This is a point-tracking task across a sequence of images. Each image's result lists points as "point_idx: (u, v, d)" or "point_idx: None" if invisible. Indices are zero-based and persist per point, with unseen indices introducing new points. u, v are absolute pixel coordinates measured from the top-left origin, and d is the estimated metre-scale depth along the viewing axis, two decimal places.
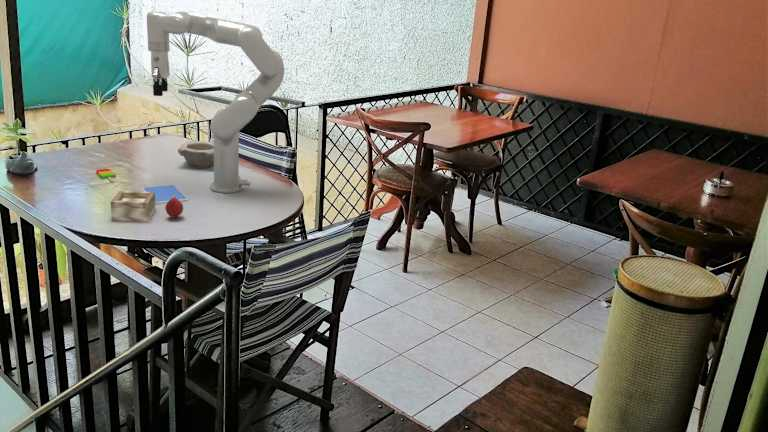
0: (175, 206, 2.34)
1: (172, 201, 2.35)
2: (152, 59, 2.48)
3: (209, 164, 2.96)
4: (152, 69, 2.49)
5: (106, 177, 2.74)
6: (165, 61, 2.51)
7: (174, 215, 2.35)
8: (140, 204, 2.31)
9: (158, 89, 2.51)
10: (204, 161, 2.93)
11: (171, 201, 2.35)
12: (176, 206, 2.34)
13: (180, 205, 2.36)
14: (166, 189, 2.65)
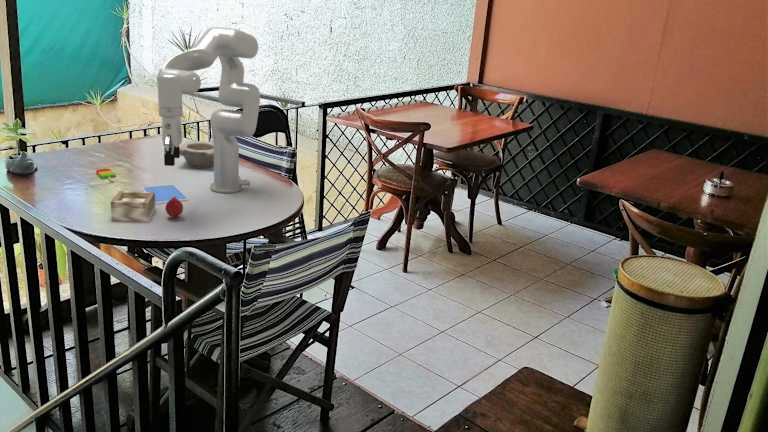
0: (175, 206, 2.34)
1: (172, 201, 2.35)
2: (163, 126, 2.22)
3: (209, 164, 2.96)
4: (163, 137, 2.23)
5: (106, 177, 2.74)
6: (178, 127, 2.25)
7: (174, 215, 2.35)
8: (140, 204, 2.31)
9: (170, 158, 2.25)
10: (204, 161, 2.93)
11: (171, 201, 2.35)
12: (176, 206, 2.34)
13: (180, 205, 2.36)
14: (167, 189, 2.65)
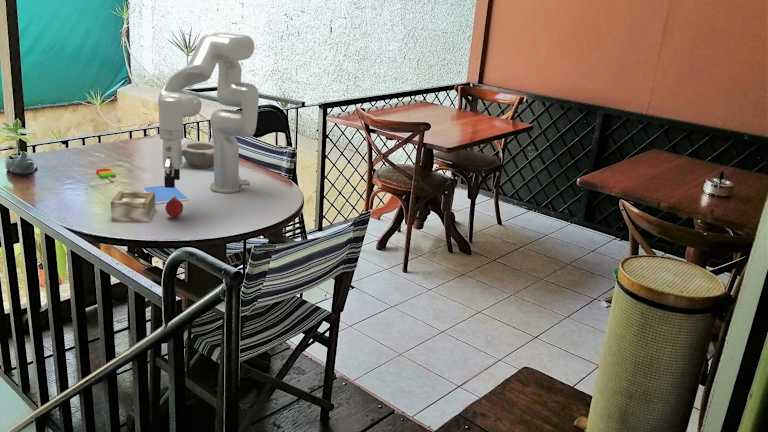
0: (175, 206, 2.34)
1: (172, 201, 2.35)
2: (164, 148, 2.25)
3: (209, 164, 2.96)
4: (164, 159, 2.25)
5: (106, 177, 2.74)
6: (178, 150, 2.27)
7: (174, 215, 2.35)
8: (140, 204, 2.31)
9: (170, 181, 2.27)
10: (204, 161, 2.93)
11: (171, 201, 2.35)
12: (176, 206, 2.34)
13: (180, 205, 2.36)
14: (167, 189, 2.65)
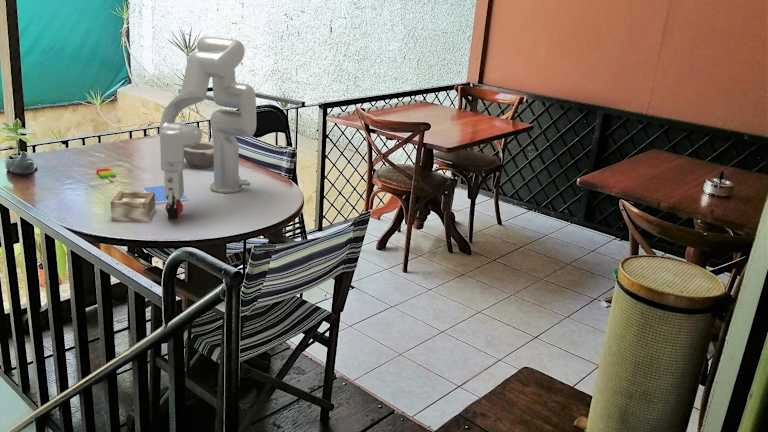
0: None
1: None
2: (166, 180, 2.28)
3: (209, 164, 2.96)
4: (166, 190, 2.29)
5: (106, 177, 2.74)
6: (180, 181, 2.31)
7: None
8: (140, 204, 2.31)
9: (173, 212, 2.33)
10: (204, 161, 2.93)
11: None
12: (176, 206, 2.34)
13: (180, 205, 2.36)
14: None
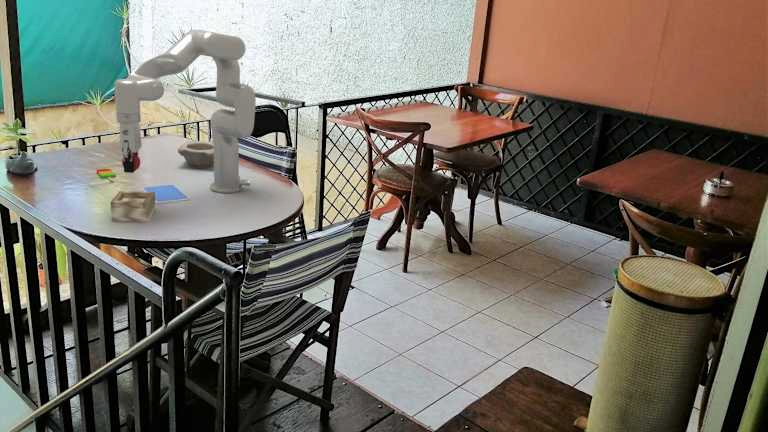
0: None
1: (128, 154, 2.29)
2: (121, 132, 2.23)
3: (209, 164, 2.96)
4: (121, 142, 2.24)
5: (106, 177, 2.74)
6: (135, 133, 2.26)
7: None
8: (140, 204, 2.31)
9: (129, 166, 2.28)
10: (204, 161, 2.93)
11: None
12: None
13: (137, 159, 2.31)
14: (167, 189, 2.65)
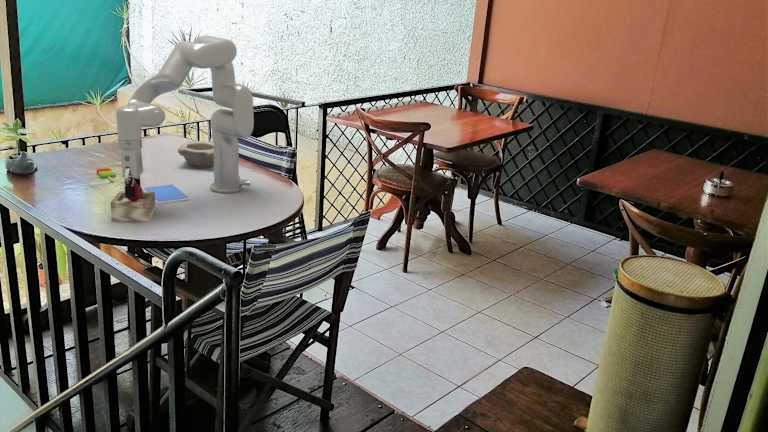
0: None
1: None
2: (122, 158, 2.26)
3: (209, 164, 2.96)
4: (123, 169, 2.27)
5: (106, 177, 2.74)
6: (137, 159, 2.29)
7: (133, 199, 2.34)
8: (140, 204, 2.31)
9: (130, 191, 2.30)
10: (204, 161, 2.93)
11: None
12: (135, 190, 2.33)
13: (139, 189, 2.35)
14: (167, 188, 2.65)
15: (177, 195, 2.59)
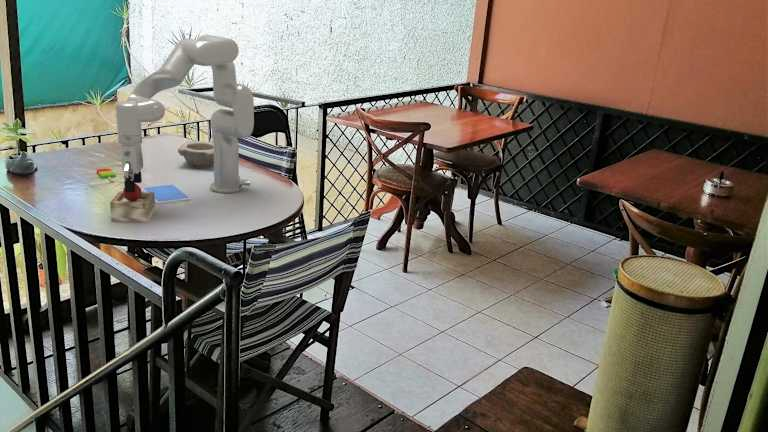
0: None
1: None
2: (123, 153, 2.26)
3: (209, 164, 2.96)
4: (123, 164, 2.27)
5: (106, 177, 2.74)
6: (137, 154, 2.29)
7: (132, 199, 2.34)
8: (140, 204, 2.31)
9: (130, 185, 2.29)
10: (204, 161, 2.93)
11: None
12: None
13: (137, 189, 2.34)
14: (167, 188, 2.65)
15: (177, 195, 2.59)
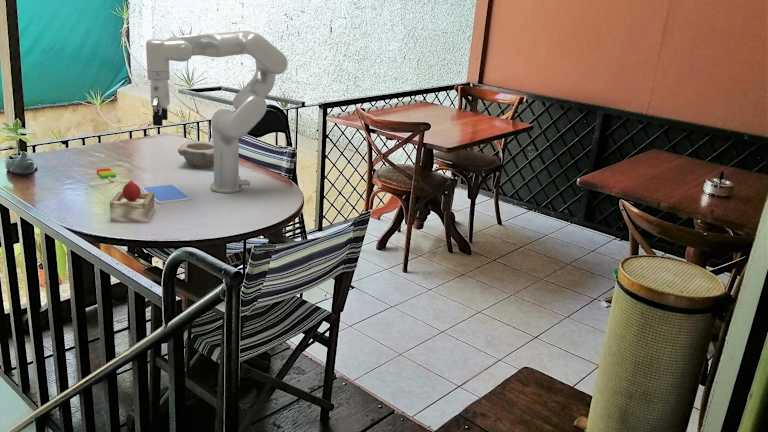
0: (129, 189, 2.33)
1: (127, 184, 2.33)
2: (152, 88, 2.40)
3: (209, 164, 2.96)
4: (152, 99, 2.41)
5: (106, 177, 2.74)
6: (165, 90, 2.43)
7: (129, 199, 2.34)
8: (139, 205, 2.31)
9: (158, 119, 2.43)
10: (204, 161, 2.93)
11: (127, 184, 2.33)
12: (131, 190, 2.33)
13: (135, 189, 2.34)
14: (167, 188, 2.65)
15: (178, 195, 2.59)
